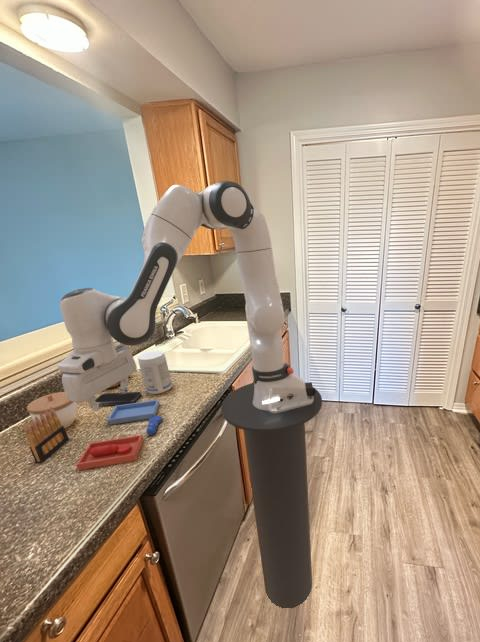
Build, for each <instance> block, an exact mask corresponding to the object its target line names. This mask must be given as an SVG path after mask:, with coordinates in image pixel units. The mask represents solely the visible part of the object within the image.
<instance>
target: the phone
mask: <svg viewBox="0 0 480 642" xmlns="http://www.w3.org/2000/svg"><path fill="white" fill-rule="evenodd" d="M141 396H142V393H141V391H128V392H126V393H125V394H121V393H120V392H105V393H102V394H100V395H99V396H98V397H96V399H95V401H96V402H101V404H102V407H105V406H106V407H107V406H118V405H124V404H132V403H136V402H137V401H138V400H139V398H141Z"/></svg>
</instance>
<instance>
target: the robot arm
mask: <svg viewBox="0 0 480 642" xmlns="http://www.w3.org/2000/svg"><path fill="white" fill-rule="evenodd" d="M200 227H203V228H206V229H209V230H226V229H227V230H228V231H229V232H230V234H231V237H232V239H233V241H234V247H235V254H236V258H237V265H238V271H239V276H240V282H241V286H242V291H243V294H244V299H245V305H244V306H245V307H244V310H245V317H246V324H247V331H248V335H249V336H248V338H249V344H250V351H251V360H252V366H251V374H252V381H253V383H254V397H253V405H254V406H255V407H256V408H258V409H261V410H265V411H269V412H271V413H274V414H276V413H280V412H284V411H288V410H291V409H295V408H299V407H303V406H306V405H310V404H312V403H313V401H314V397H313V396H314V395H315V393H316V390H317V389H316V388H315V387H314V386H313V383H312V382H305V381H304V380H303V378H301V377H300V376H298V375H296V374H294V369H293V368H292V367H291V365H290V364H288V362H287V361H286V362H285V354H284V352H285V351H284V342H283V339H282V333H281V329H282V328H283V326H284V324H285V312H284V305H283V300H282V296H281V291H280V287H279V283H278V279H277V278H278V277H277V274H276V273H277V272H276V267H275V259H274V251H273V245H272V238H271V234H270V230H269V227H268V223H267V221H266V218H265V216H264V214H263V213H262V212H260V211H259V210H256V209H255V207H254V206H253V204H252V202H251V200H250V198H249V195H248V192H246V190H245V188H243V186H241V185H240V184H239V183H237V182H235V181H232V180H221V181H219V182H216V183H212V184H211V185H208V186H207V187H206V188H204V189H203V190H200V191H198V192H196V191H194V190H193V189H191V188H190V187H188V186H185V185H183V184H173V185H171V186H170V187H168V189H167V190H166V191H165V192H164V194H162V196H161V197H160V199H159V200H158V201H157V203H156V204H155V206H154V208H153V209H152V211H151V213H150V214H149V217H148V219H147V220H146V223H145V226H144V229H143V232H142V236H141V245H142V248H143V255H144V257H143V258H144V260H143V264H142V268H141V270H140V272H139V274H138V276H137V279H136V281H135V282H134V285H133V287H132V289H131V291H130V293H129V294H128V296H119V295H118V296H117V295H114V294H113V295H112V294H109V293H105V292H102V291H99V290H97V289H95V288H94V287H84V288H78V289H75V290H73V291H70V292H67V293H66V294H64V295H63V296H62V297H61V299H60V301H59V302H60V303H59V307H60V313H61V316H62V320H63V323H64V326H65V329H66V331H67V333H68V334H69V335H70V338H71V345H72V349H73V350H72V351H71V352H70V353H69V354H68V355H67V356H66V357H65V358H64V359H63V360H61V362H59V363H58V365H57V368H58V371H59V372H60V373H63V374H62V375H61V384H62V387H63V392H65V393H66V396H67V398H68V400H70V401H72V402H77V404H82V403H87V404H89V405H91V408H92V410H93V411H95V412H99V411H100V410H102V409H103V407H104V406H102V404H101V402H96V401H95V400H96V399H97V397H96V396H97V395H98V394H100V393H103V392H104V391H105V390H107V389H110V388H109V387H110V386H112V385H114V384H115V383H117V382H119V381H121V383H120V384H119V385H120V386H119V387H118V391H119V392H118V393H121V394H125V393H126V392H129V388H128V387H129V386H128V385H129V380H130V376H131V375H132V374H135V373H136V372H137V364H136V361H135V358H134V356H133V354H132V352H131V351H130V347H129V346H139V345H142V344H144V343H146V342H147V341H149V340H150V338H151V337H153V334H154V332H155V330H156V329H155V328H156V314H157V309H158V306H159V303H160V301H161V300H162V297H163V295H164V294H165V293H164V292H165V290H166V289H167V287H168V284H169V282H170V280H171V277H172V276H173V272H174V270H175V269H176V267H177V266H178V264H179V262H180V260H181V259H182V258H183V257H184V254H185V253H186V251H187V250H188V248H189V247H190V244H191V243H192V240H193V238H194V236H195V234H196V232H197V230H199V228H200ZM114 340H115V341H116V342H118V343H117V344H115V343H114ZM129 375H130V376H129ZM128 376H129V377H128ZM313 387H314V388H315V389H316V390H315V389H314V388H313Z"/></svg>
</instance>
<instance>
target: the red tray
mask: <svg viewBox="0 0 480 642" xmlns="http://www.w3.org/2000/svg"><path fill="white" fill-rule="evenodd" d="M143 443H144V436H143V434H137V435H132V436H125V437H119V438H113V439H106V440H100V441H93V442H89V443H88V445H87V446H86V448H85V450H84V452H83V453H82V455H81V457H79V460H78V462H77V463H76V465H75V466H76V467H77V470H78V471H83V470H89V469H95V468H100V467H107V466H112V465H117V464H123V463H128V462H129V463H130V462H134V461H137V460H138V456H139V454H140V451H141V448H142V446H143ZM111 444H117V445H118V446H121V445H123V444H130V445H131V448H132V450H131V451H130V452H129V453H127V454H124V455H119V454H118V453H117V452H116V453H114V454H108V455H102V456H92V455H91V454H90V451H91V449H92V448H94V447H98V446H104V445H111Z"/></svg>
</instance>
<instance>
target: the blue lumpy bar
mask: <svg viewBox="0 0 480 642" xmlns="http://www.w3.org/2000/svg"><path fill="white" fill-rule="evenodd" d="M148 420H149V422H148V425H147V426H146V430H145V431H146V434H147V435H149V436H153V435H155V434H156V431H157V429H158V425H159V424H161V423H162V422H163V419H162V416H160V415H156V416H155V417H152V418H151V419H148Z"/></svg>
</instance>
